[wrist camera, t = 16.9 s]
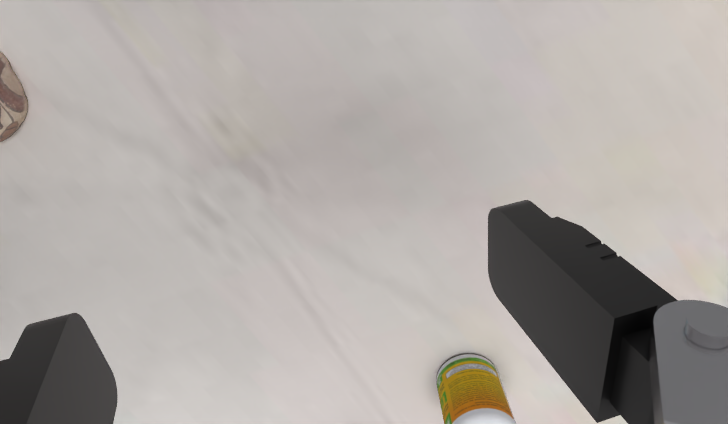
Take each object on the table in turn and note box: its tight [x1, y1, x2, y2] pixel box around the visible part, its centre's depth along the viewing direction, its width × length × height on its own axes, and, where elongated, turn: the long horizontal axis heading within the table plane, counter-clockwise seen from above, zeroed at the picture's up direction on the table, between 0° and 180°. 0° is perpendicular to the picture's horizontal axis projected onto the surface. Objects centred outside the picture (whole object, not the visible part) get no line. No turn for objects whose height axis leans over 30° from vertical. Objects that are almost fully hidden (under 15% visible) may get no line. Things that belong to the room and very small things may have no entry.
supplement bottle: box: [437, 354, 516, 424], centre depth 40 cm, size 5×5×10 cm
